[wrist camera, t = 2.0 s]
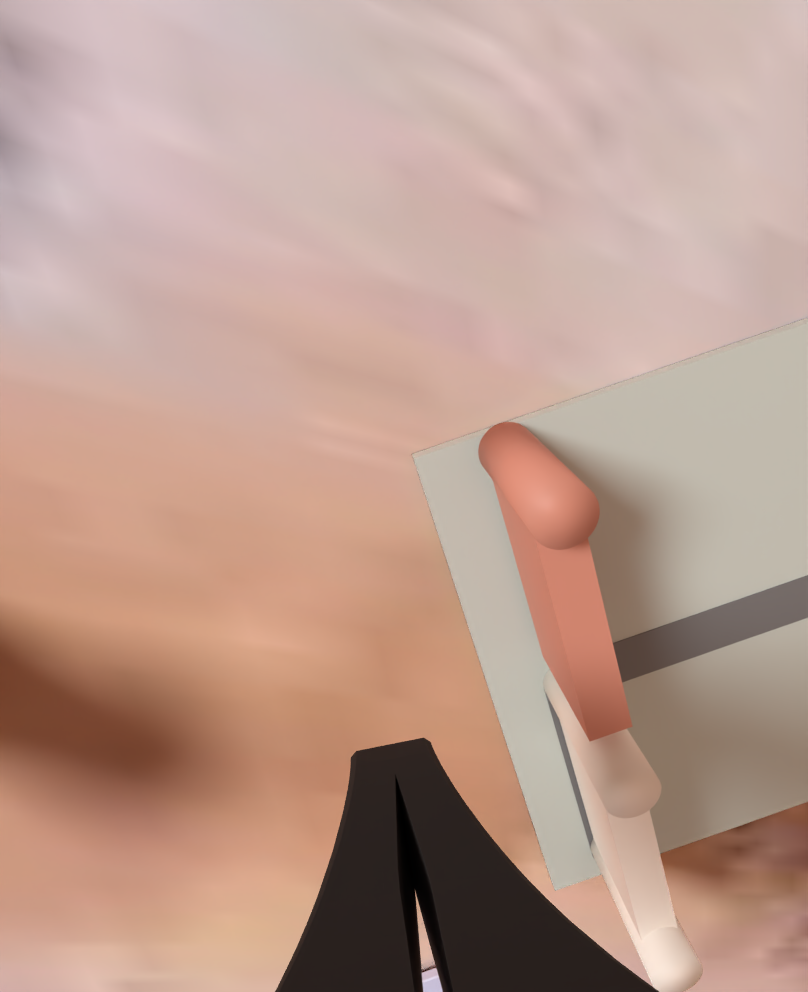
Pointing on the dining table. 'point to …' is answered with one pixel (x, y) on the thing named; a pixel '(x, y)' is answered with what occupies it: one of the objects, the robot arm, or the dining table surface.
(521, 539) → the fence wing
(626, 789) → the fence base
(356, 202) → the dining table surface
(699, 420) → the card
